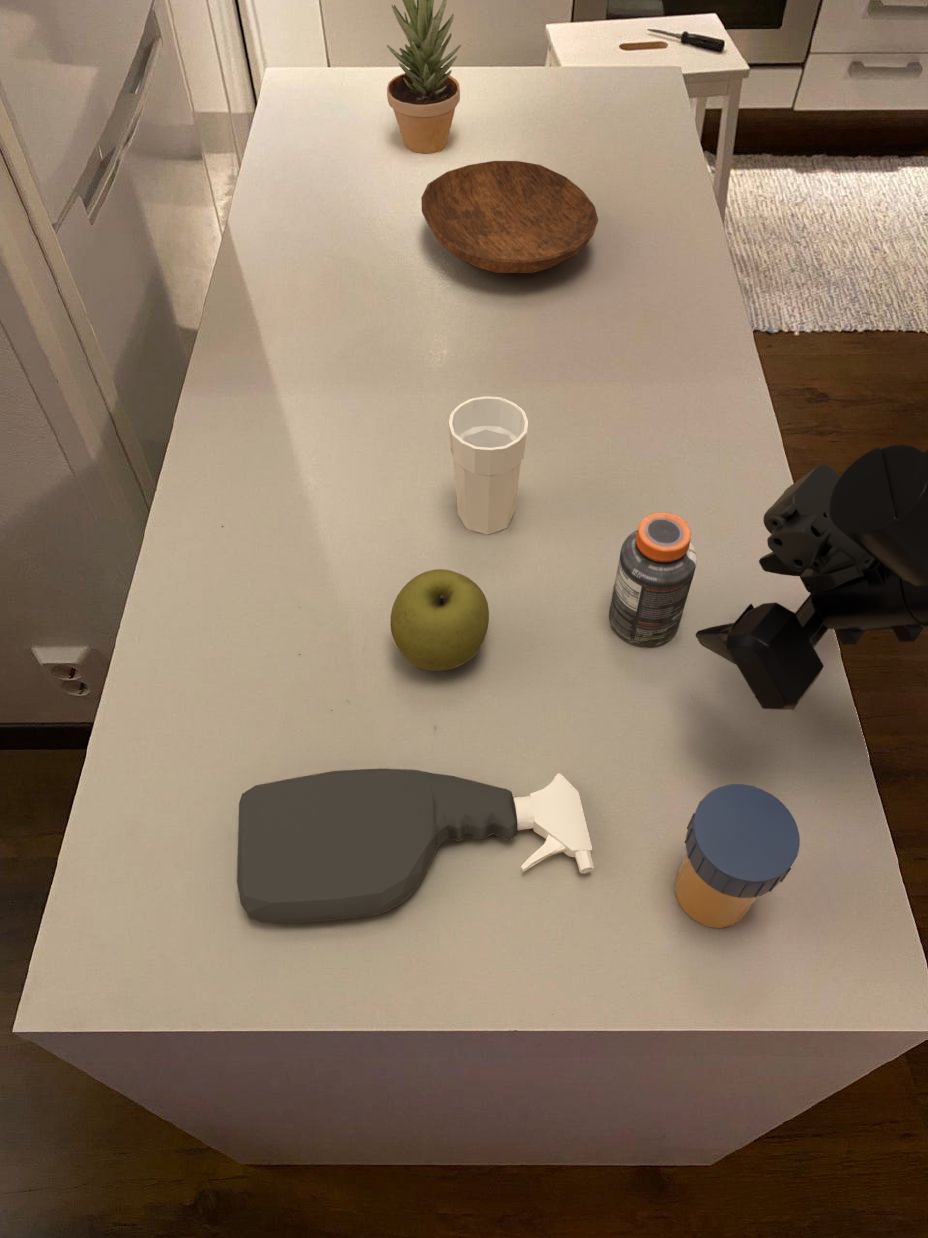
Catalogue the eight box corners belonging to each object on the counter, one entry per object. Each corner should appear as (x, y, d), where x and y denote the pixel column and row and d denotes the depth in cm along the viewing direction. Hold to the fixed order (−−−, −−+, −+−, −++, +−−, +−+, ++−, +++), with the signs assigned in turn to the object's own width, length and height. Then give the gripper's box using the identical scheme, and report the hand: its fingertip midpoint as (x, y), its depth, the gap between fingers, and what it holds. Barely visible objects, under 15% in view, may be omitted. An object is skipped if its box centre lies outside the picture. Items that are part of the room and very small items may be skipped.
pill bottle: (684, 603, 81) (712, 512, 72) (670, 656, 78) (697, 568, 69) (617, 585, 82) (635, 493, 73) (600, 637, 79) (617, 548, 70)
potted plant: (381, 155, 127) (366, -61, 107) (400, 122, 132) (389, -90, 113) (454, 164, 125) (452, -54, 106) (470, 130, 131) (471, -83, 111)
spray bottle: (244, 792, 71) (568, 759, 73) (241, 937, 64) (597, 897, 66) (237, 773, 68) (572, 740, 70) (233, 922, 62) (602, 881, 64)
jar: (726, 846, 68) (760, 784, 60) (764, 913, 65) (804, 857, 57) (661, 869, 67) (687, 810, 59) (697, 939, 64) (729, 886, 56)
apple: (507, 650, 78) (510, 597, 73) (433, 705, 75) (431, 654, 69) (447, 596, 82) (445, 541, 76) (374, 647, 79) (367, 593, 73)
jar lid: (754, 790, 63) (765, 770, 61) (807, 878, 59) (821, 861, 57) (666, 821, 61) (674, 802, 59) (716, 914, 58) (726, 897, 56)
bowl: (470, 317, 105) (470, 278, 101) (397, 219, 117) (394, 180, 113) (624, 275, 110) (630, 236, 106) (538, 184, 122) (541, 146, 118)
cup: (488, 551, 85) (491, 461, 76) (435, 514, 87) (432, 423, 79) (536, 512, 88) (544, 421, 79) (483, 477, 90) (485, 385, 82)
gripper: (938, 392, 60) (745, 445, 73) (795, 564, 52) (606, 589, 65) (1004, 534, 63) (808, 560, 77) (880, 718, 55) (683, 712, 68)
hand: (731, 600), depth 71 cm, fingers open, 9 cm apart
